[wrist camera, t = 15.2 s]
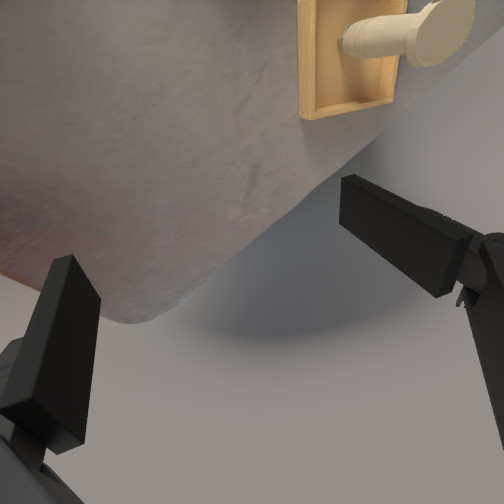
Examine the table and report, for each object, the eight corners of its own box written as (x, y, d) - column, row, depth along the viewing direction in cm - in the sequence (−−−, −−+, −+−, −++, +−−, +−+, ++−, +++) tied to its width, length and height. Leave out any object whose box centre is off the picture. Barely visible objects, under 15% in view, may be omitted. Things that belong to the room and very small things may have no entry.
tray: (296, -44, 32) (309, -53, 29) (397, -52, 35) (417, -61, 32) (299, 117, 42) (309, 120, 39) (378, 100, 44) (392, 102, 42)
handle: (370, 46, 39) (474, 40, 27) (331, 73, 39) (417, 78, 28) (363, 5, 36) (476, -23, 24) (320, 33, 36) (412, 20, 25)
